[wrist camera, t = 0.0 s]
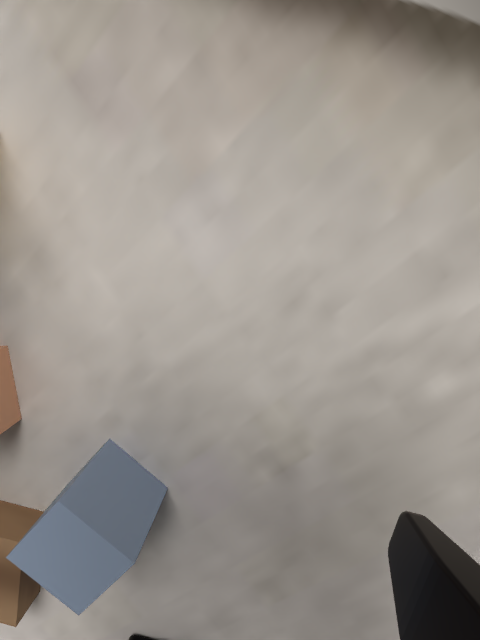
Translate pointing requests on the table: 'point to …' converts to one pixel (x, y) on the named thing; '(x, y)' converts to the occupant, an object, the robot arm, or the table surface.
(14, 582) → the walnut slab
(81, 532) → the slate block
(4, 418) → the terracotta block
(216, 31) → the table surface
